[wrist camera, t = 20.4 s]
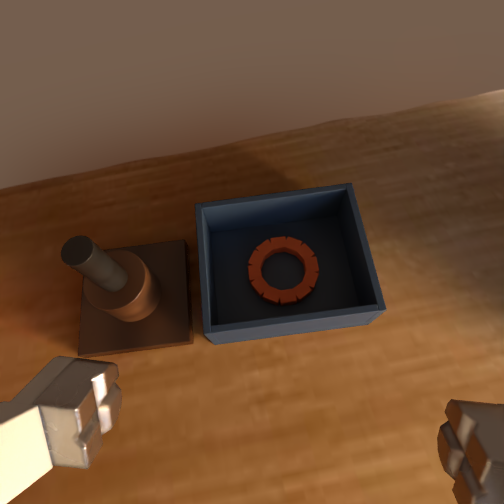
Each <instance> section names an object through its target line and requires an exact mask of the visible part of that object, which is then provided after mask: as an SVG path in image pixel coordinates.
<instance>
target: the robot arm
mask: <svg viewBox="0 0 504 504" xmlns="http://www.w3.org/2000/svg"><path fill="white" fill-rule="evenodd" d="M118 377H119V372H118V366H117V365H116V364H115V363H112V362H105V361H97V360H90V359H82V358H72V357H64V356H58V357H55V358H53V359H52V360H51V361H50V362H49V363H48V364H47V365H46V366H45V367H44V368H43V369H42V370H41V371H40V372H39V373H38V374H37V375H36V376H35V377H34V378H33V379H32V380H31V381H30V382H29V383H28V384H27V385H26V386H25V387H24V388H23V389H22V390H21V391H20V392H19V393H18V394H17V395H16V396H15V397H14V398H13V399H12V400H11V401H10V402H5V401H3V402H1V403H0V504H7V503H8V502H9V501H11V500H12V499H13V498H14V497H16V496H17V495H18V494H20V493H21V492H22V491H23V490H25V489H26V488H27V487H29V486H30V485H31V484H32V483H34V482H35V481H36V480H37V479H39V478H40V477H41V476H43V475H44V474H45V473H46V472H48V471H49V470H50V469H52V468H53V466H52V465H54V466H64V467H73V468H83V469H88V468H89V467H90V465H91V463H92V462H93V460H94V458H95V456H96V455H97V453H98V451H99V450H100V448H101V446H102V445H103V442H102V435H103V434H104V433H106V432H107V431H109V430H110V429H112V427H113V426H114V424H115V422H116V420H117V418H118V415H119V412H120V409H121V403H122V393H121V389H120V388H119V387H118V385H117V384H116V383H115V381H116V380H117V378H118ZM445 414H446V416H447V418H448V421H447V422H446V423H444V424H443V425H441V426H440V429H439V433H438V437H437V442H438V453H439V457H440V461H441V463H442V466H443V469H444V471H445V472H446V473H447V474H449V475H450V476H451V477H452V478H453V479H454V480H455V483H454V486H453V489H452V491H453V493H454V495H455V498H456V500H457V503H458V504H504V404H493V403H483V402H473V401H463V400H454V399H451V400H450V401H449V402H448V404H447V406H446V409H445Z"/></svg>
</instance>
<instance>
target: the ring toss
mask: <svg viewBox="0 0 504 504" xmlns="http://www.w3.org/2000/svg"><path fill="white" fill-rule="evenodd" d="M61 257H62V260H63V262H64V263H65V264H67V265H68V266H70V267H71V268H73V269H74V270H76V271H77V272H79V273H80V274H82V275H83V287H82V302H81V316H80V331H79V346H78V356H80V357H84V358H89V357H97V356H104V355H112V354H120V353H127V352H135V351H142V350H150V349H157V348H165V347H172V346H180V345H187V344H193V328H192V310H191V292H190V274H189V256H188V245H187V243H186V241H185V240H184V239H183V240H176V241H168V242H161V243H153V244H146V245H138V246H131V247H123V248H116V249H108V250H102V249H101V248H100V247H99V246H98V245H97V244H95V243H94V242H93V241H92V240H91V239H90V238H88V237H86V236H75V237H73V238H71V239H69V240H68V241H67V242H66V243H65V244H64V246H63V248H62V250H61Z"/></svg>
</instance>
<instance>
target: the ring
mask: <svg viewBox="0 0 504 504" xmlns="http://www.w3.org/2000/svg"><path fill="white" fill-rule="evenodd" d="M280 252H287V253H289V254H292V255H295V256H296V257H297V258H298V259H299V260H300V261H301V262H302V263H303V266H304V271H305V275H304V278H303V280H302V282H301V283H300V284H298V285H297V286H296V287H294V288H293V289H287V290H279V289H276V288H274V287H271V286H269V285H268V284H267V282H266V281H265V280H264V279H263V277H262V273H261V268H262V266H263V264H264V261H265V260H266V259H267V258H268V257H270V256H271V255H273V254H274V253H280ZM314 256H315V253H314V252H313V251H312V250H311V249H310V248H309V247H308V246H307V245H306V244H305V243H304V244H303V245H302V241H300V240H297V239H294V238H292V237H289V236H288V238H287V240H286V237H285V236H283V237H275V238H271V239H270V241H269V240H268V239H267V240H266V241H264V242H263V243H262V244H260V245H259V246H257V247H256V250H254V251H253V253H252V255H251V258H250V260H249V262H248V265H249V266H248V273H249V280H250V284H251V287H252V288H253V289H254V291H255V292H256V293H257V294H258V296H259V297H260V298H262V297H263V300H264V301H266V302H269V303H271V304H274V305H277V306H278V304H279V302H280V306H286V305H293V304H296V302H298V303H300V302H301V301H302V300H303V299H305V298H306V297H307V296H309V295H310V294H311V291H313V289H314V286H315V284H316V281H317V278H318V276H319V267H318V262H317V258H316V256H315V257H314Z"/></svg>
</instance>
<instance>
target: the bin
mask: <svg viewBox="0 0 504 504" xmlns="http://www.w3.org/2000/svg"><path fill="white" fill-rule="evenodd" d="M195 215H196V230H197V245H198V259H199V274H200V289H201V304H202V319H203V334H204V335H205V336H206V337H207V338H208V339H209V340H210V341H211V342H212V343H213V344H214V345H217V344H225V343H232V342H240V341H247V340H255V339H262V338H270V337H278V336H285V335H293V334H300V333H308V332H315V331H323V330H330V329H338V328H345V327H353V326H360V325H368V324H369V323H371V322H372V321H373V320H375V319H376V318H377V317H378V316H380V315H381V314H382V313H383V312H385V311H386V306H385V302H384V299H383V295H382V291H381V288H380V284H379V280H378V277H377V273H376V270H375V266H374V262H373V259H372V255H371V251H370V248H369V244H368V240H367V237H366V233H365V229H364V226H363V222H362V219H361V215H360V211H359V208H358V204H357V200H356V197H355V193H354V189H353V186H352V183H346V184H339V185H331V186H324V187H316V188H309V189H301V190H294V191H287V192H279V193H272V194H264V195H257V196H249V197H242V198H234V199H227V200H219V201H212V202H204V203H202V204H201V203H196V204H195ZM283 236H285V237H286V240H287V238H288V236H289V237H292V238H294V239H297V240H300V241H302V245H303V244H304V243H305V244H306V245H307V246H308V247H309V248H310V249H311V250H312V251H313V252H314V253H315V256H316V258H317V262H318V267H319V276H318V278H317V281H316V284H315V286H314V289H313V291H311V294H310V295H309V296H307V297H306V298H305V299H303V300H302V301H301V302H300V303H298V302H296V304H293V305H286V306H280V302H279V304H278V306H277V305H274V304H271V303H269V302H266V301H264V300H263V297H262V298H260V297H259V296H258V294H257V293H256V292H255V291H254V289H253V288H252V287H251V284H250V280H249V273H248V266H249V265H248V262H249V260H250V258H251V255H252V253H253V251H254V250H256V247H257V246H259V245H260V244H262V243H263V242H264V241H266V240H267V239H268V240H269V241H270V239H271V238H275V237H283ZM315 256H314V257H315ZM261 273H262V277H263V279H264V280H265V281H266V282H267V284H268V285H269V286H271V287H274V288H276V289H279V290H287V289H293V288H294V287H296V286H297V285H298V284H300V283H301V282H302V280H303V278H304V275H305V271H304V266H303V263H302V262H301V261H300V260H299V259H298V258H297V257H296V256H295V255H292V254H289V253H287V252H280V253H274V254H273V255H271V256H270V257H268V258H267V259H266V260H265V261H264V264H263V266H262V268H261Z"/></svg>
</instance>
